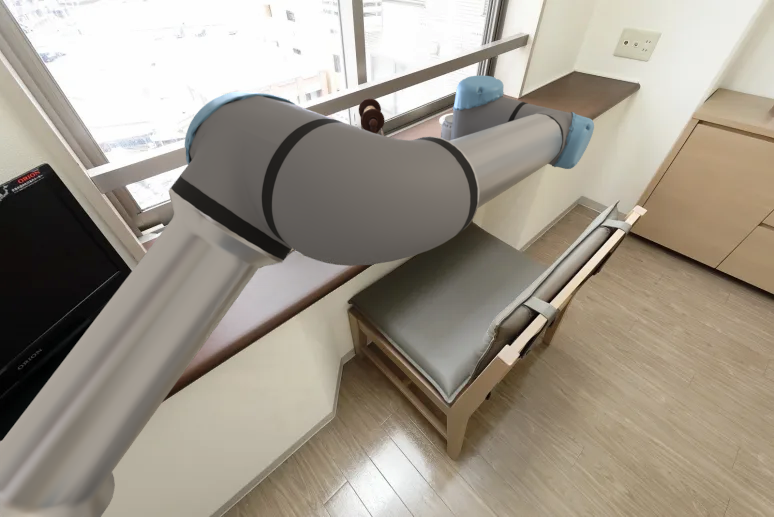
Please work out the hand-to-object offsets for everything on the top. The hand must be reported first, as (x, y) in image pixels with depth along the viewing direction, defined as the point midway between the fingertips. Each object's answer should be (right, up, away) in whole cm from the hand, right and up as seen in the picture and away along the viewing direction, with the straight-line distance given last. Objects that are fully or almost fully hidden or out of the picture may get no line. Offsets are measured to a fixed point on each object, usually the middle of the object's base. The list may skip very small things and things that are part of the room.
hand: (307, 170), depth 66 cm
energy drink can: (+33, +7, +29) cm, 45 cm away
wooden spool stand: (+12, +6, +29) cm, 32 cm away
